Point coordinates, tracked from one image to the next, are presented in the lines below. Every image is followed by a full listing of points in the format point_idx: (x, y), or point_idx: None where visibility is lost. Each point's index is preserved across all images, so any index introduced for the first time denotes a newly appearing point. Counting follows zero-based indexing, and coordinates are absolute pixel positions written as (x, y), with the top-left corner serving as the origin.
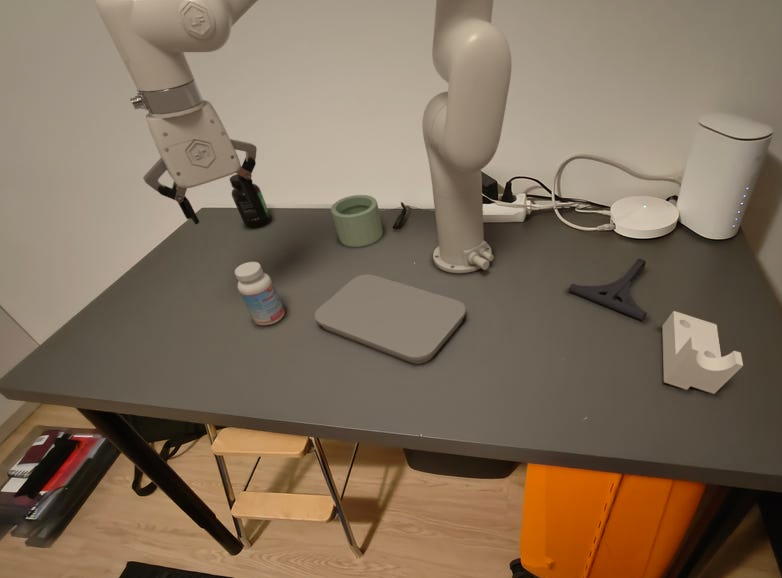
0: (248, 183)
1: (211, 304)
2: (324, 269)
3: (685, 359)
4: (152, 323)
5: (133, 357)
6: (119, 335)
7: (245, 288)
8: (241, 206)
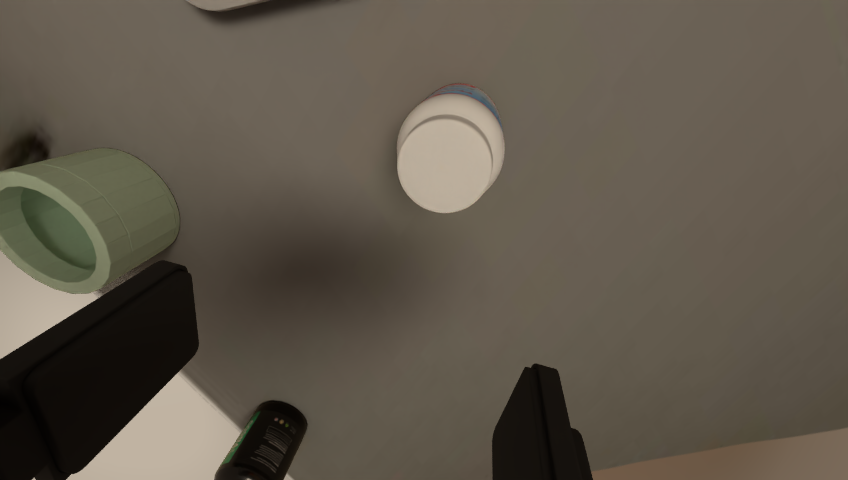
0: (17, 352)
1: (506, 290)
2: (260, 168)
3: None
4: (617, 342)
5: (726, 285)
6: (677, 366)
7: (493, 133)
8: (279, 462)
